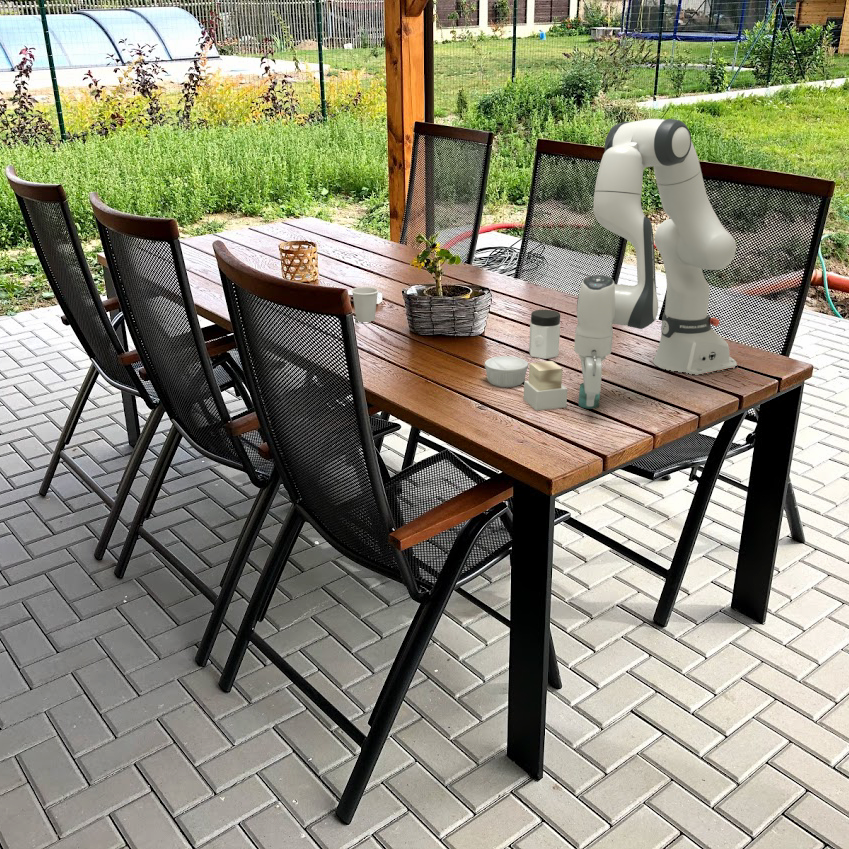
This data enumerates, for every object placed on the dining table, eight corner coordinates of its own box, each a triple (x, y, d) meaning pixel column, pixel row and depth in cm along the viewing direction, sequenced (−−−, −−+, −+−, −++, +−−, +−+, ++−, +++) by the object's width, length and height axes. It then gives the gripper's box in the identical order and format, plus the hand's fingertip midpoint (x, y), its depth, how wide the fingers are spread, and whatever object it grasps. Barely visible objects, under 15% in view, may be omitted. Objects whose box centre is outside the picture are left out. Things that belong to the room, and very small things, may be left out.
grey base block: (552, 396, 233) (554, 377, 231) (566, 407, 226) (567, 388, 224) (523, 399, 231) (524, 380, 229) (535, 411, 224) (537, 392, 222)
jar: (523, 355, 262) (525, 314, 257) (534, 347, 268) (536, 307, 263) (552, 360, 258) (555, 319, 253) (563, 352, 264) (566, 312, 259)
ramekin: (475, 382, 242) (476, 363, 240) (499, 371, 250) (500, 352, 248) (511, 392, 235) (512, 372, 233) (535, 380, 243) (536, 361, 241)
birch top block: (550, 379, 230) (551, 360, 228) (561, 388, 224) (562, 368, 222) (528, 382, 228) (529, 363, 226) (538, 390, 223) (539, 371, 221)
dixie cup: (377, 325, 288) (377, 293, 285) (351, 324, 289) (350, 293, 285) (379, 317, 296) (379, 286, 292) (353, 317, 296) (352, 286, 292)
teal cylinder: (593, 400, 230) (595, 381, 228) (602, 407, 226) (604, 388, 224) (575, 402, 229) (576, 383, 227) (583, 409, 224) (585, 390, 222)
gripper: (609, 359, 211) (604, 414, 217) (603, 332, 230) (599, 384, 236) (581, 358, 212) (577, 413, 217) (578, 331, 231) (574, 383, 236)
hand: (588, 398), depth 227 cm, fingers open, 8 cm apart
